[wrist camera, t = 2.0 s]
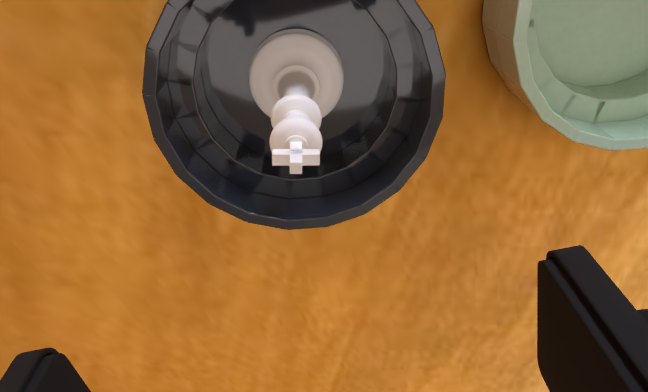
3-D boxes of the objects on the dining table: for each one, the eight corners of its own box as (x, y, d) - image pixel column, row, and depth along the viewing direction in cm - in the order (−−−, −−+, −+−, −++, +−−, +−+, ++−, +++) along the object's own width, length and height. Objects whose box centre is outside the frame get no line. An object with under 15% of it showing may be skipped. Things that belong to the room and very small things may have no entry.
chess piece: (342, 122, 27) (363, 226, 18) (251, 121, 27) (228, 227, 18) (346, 28, 24) (372, 100, 16) (245, 27, 24) (217, 99, 16)
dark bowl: (126, 114, 27) (97, 151, 23) (243, -135, 21) (231, -142, 17) (332, 220, 31) (337, 266, 27) (475, 34, 25) (507, 60, 21)
